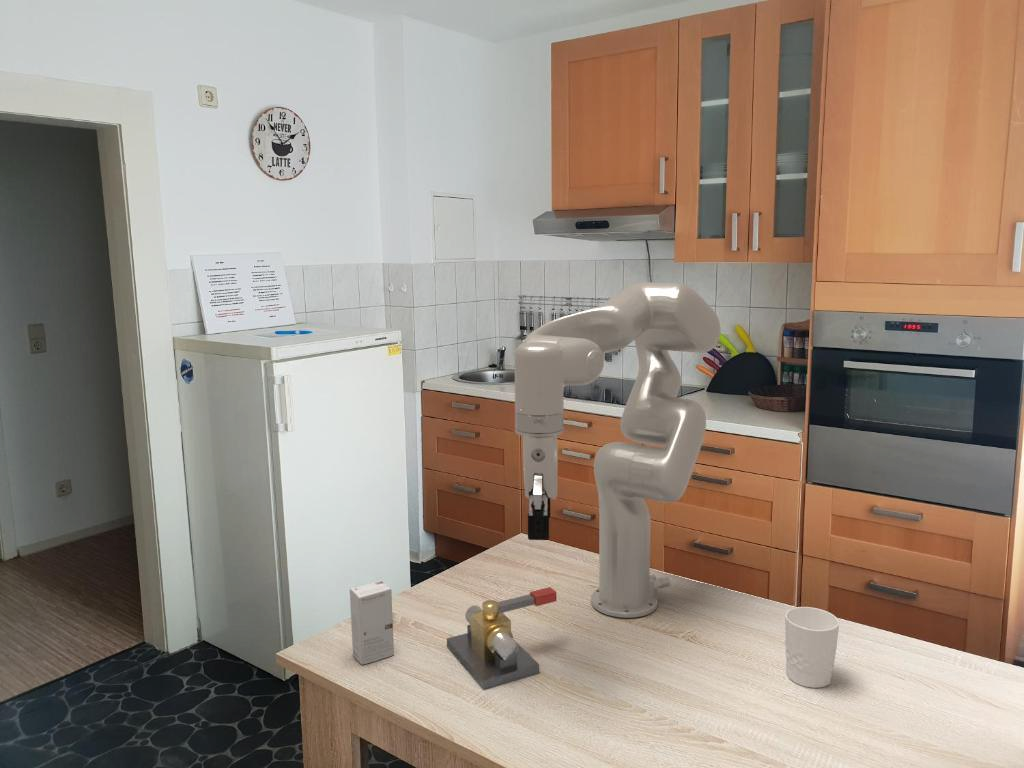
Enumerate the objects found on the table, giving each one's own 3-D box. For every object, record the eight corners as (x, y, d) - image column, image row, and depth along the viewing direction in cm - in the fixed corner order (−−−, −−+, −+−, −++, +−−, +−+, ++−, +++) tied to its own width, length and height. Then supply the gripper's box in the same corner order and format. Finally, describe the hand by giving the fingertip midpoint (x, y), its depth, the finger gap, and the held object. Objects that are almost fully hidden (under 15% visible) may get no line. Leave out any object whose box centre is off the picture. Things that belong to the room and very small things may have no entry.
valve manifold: (498, 632, 140) (497, 593, 139) (539, 672, 127) (538, 630, 126) (447, 646, 136) (445, 606, 134) (483, 689, 123) (482, 645, 121)
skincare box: (362, 666, 130) (358, 598, 128) (351, 654, 134) (347, 588, 132) (396, 655, 133) (392, 588, 131) (385, 644, 137) (381, 579, 135)
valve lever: (486, 620, 128) (486, 608, 128) (480, 614, 131) (479, 602, 130) (557, 602, 134) (557, 591, 134) (549, 596, 136) (549, 585, 136)
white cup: (834, 667, 127) (837, 610, 125) (836, 694, 120) (840, 633, 118) (782, 660, 130) (785, 603, 128) (782, 685, 122) (785, 626, 120)
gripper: (563, 436, 113) (563, 549, 116) (563, 411, 130) (563, 510, 133) (511, 435, 113) (512, 548, 116) (518, 411, 130) (519, 509, 133)
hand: (539, 528), depth 124 cm, fingers open, 9 cm apart
